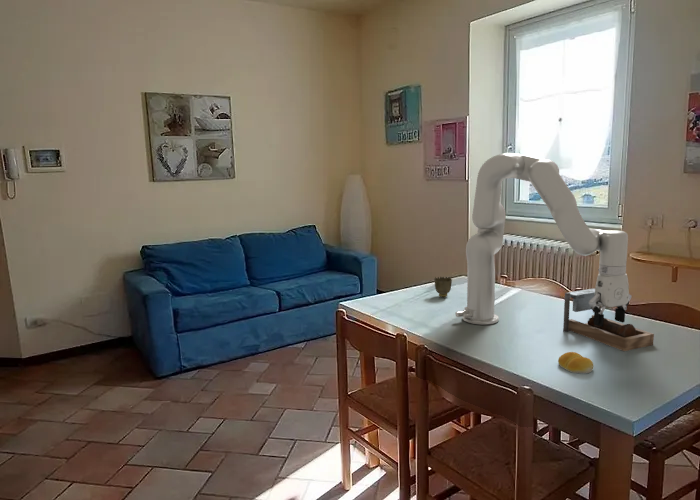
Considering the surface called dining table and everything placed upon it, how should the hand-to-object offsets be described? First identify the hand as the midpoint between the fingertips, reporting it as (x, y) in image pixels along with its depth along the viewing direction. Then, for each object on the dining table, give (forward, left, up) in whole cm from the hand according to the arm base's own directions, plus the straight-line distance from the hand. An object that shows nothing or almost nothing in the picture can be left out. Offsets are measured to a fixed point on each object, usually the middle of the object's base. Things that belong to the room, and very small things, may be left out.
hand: (609, 323), depth 163 cm
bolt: (0, 0, -4) cm, 4 cm away
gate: (0, +10, +2) cm, 10 cm away
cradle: (0, 0, -5) cm, 5 cm away
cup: (-20, +66, -5) cm, 69 cm away
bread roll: (-27, -14, -5) cm, 31 cm away
